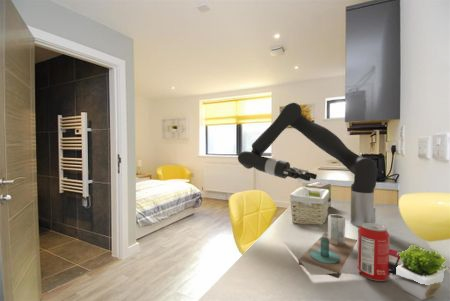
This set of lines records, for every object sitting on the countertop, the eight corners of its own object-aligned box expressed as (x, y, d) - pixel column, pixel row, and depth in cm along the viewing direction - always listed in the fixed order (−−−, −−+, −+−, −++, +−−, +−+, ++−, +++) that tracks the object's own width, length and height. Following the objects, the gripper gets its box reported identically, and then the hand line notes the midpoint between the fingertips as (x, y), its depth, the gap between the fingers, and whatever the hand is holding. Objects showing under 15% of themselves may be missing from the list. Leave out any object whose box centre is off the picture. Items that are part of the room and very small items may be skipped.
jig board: (325, 235, 97) (325, 216, 97) (357, 243, 89) (357, 222, 89) (298, 264, 74) (298, 238, 74) (338, 278, 66) (339, 249, 66)
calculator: (420, 271, 64) (360, 251, 74) (418, 286, 64) (359, 263, 75) (423, 257, 72) (368, 241, 82) (422, 271, 72) (367, 252, 82)
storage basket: (323, 229, 104) (323, 198, 104) (288, 223, 113) (288, 193, 113) (329, 215, 125) (330, 189, 124) (299, 211, 133) (300, 186, 133)
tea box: (315, 203, 150) (316, 181, 150) (331, 206, 143) (331, 183, 143) (304, 207, 140) (305, 184, 140) (320, 211, 133) (321, 186, 133)
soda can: (359, 279, 66) (360, 228, 65) (355, 266, 73) (356, 220, 72) (391, 286, 62) (393, 232, 62) (385, 271, 70) (386, 223, 69)
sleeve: (338, 238, 90) (339, 214, 90) (347, 245, 85) (348, 218, 84) (325, 239, 90) (325, 214, 89) (333, 245, 84) (333, 219, 84)
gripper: (272, 160, 96) (310, 169, 87) (285, 159, 108) (320, 168, 98) (268, 177, 97) (306, 188, 88) (282, 174, 109) (316, 184, 99)
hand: (313, 177), depth 93 cm, fingers open, 8 cm apart
